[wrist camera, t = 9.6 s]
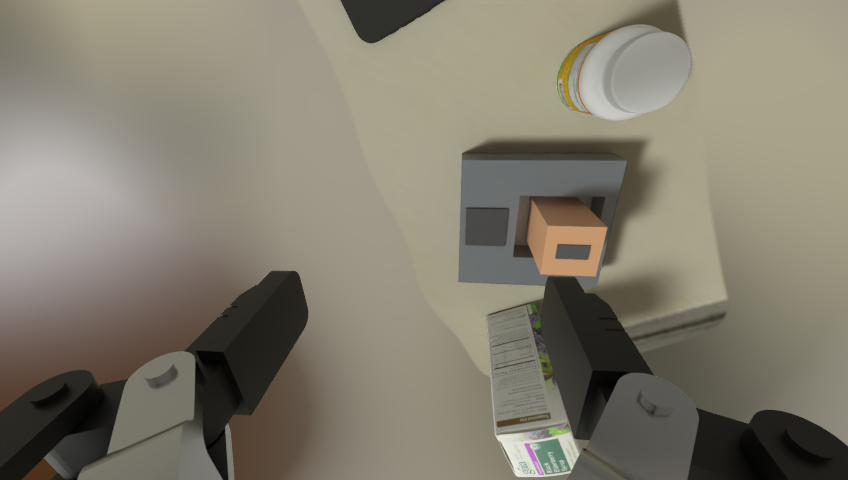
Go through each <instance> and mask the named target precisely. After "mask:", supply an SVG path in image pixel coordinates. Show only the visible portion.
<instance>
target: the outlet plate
mask: <svg viewBox="0 0 848 480" xmlns="http://www.w3.org/2000/svg"><path fill="white" fill-rule="evenodd" d="M626 164H627V160H625V159H623V158H621V157H619V156H616V155H614V154H612V153H462V179H461V213H460V246H459V280H458V282H468V283H491V284H514V285H537V286H546V280H547V278H548V277H549V276H568V277H576V279H577V280H578V282H579V284H580V285H581V287H584V288H596V287H597V283H598V278H599V274H600V270H601V266H602V262H603V258H604V254H605V250H606V246H607V242H608V238H609V234H610V230H611V225H612V221H613V217H614V213H615V209H616V205H617V201H618V197H619V193H620V189H621V185H622V181H623V176H624V172H625V168H626ZM531 197H578V198H579V199H580V200H581V201H582V202H583V203H584V204H585V205H586V206H587V207H588V208H589V209H590V210H591V211H592V212H593V213H594V214H595V215H596V216H597V217H598V218H599V219H600V220H601V221H602V222H603V223H604V224H605V225H606V226H607V232H606V236H605V240H604V244H603V248H602V252H601V256H600V261H599V265H598V269H597V273H596V277H595V276H570V275H546V274H540V272H539V270H538V267H537V265H536V262H535V260H534V257H533V255H532V252H531V250H530V247H529V245H528V242H527V240H526V230H527V222H528V215H529V207H530V199H531Z"/></svg>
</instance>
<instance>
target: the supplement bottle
mask: <svg viewBox="0 0 848 480" xmlns="http://www.w3.org/2000/svg"><path fill="white" fill-rule="evenodd" d="M690 70H691V53H690V50H689V48H688V46H687V44H686V43H685V41H684V40H683V39H682V38H680V37H679V36H677V35H676V34H673V33H670V32H663V31H662V30H660V29H658V28H656V27H654V26H651V25H645V24H635V25H629V26H625V27H621V28H619V29H616V30H613V31H611V32H608V33H605V34H602V35H600V36H597V37H594V38H591V39H589V40H587V41H584V42H582V43H581V44H579V45H577V46H576V47H575V48H573V49H572V50H571V51H570V52H569V53H568V54H567V56H566V57H565V58H564V60H563V61H562V63H561V65H560V67H559V69H558V73H557V77H556V90H557V94H558V97H559V99H560V101H561V102H562V103H563V105H564V106H565V107H567V108H568V109H569V110H571V111H573V112H576V113H580V114H584V115H588V116H592V117H596V118H600V119H604V120H610V121H623V120H628V119H632V118H635V117H638V116H640V115H642V114H644V113H648V112H652V111H655V110H657V109H660V108H662V107H663V106H665V105H666V104H668V103H669V102H671V101H672V100H673V99H674V98H675V97H676V96H677V95H678V94H679V92H680V91H681V90H682V89H683V87H684V85H685V84H686V82H687V79H688V77H689V74H690Z"/></svg>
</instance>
